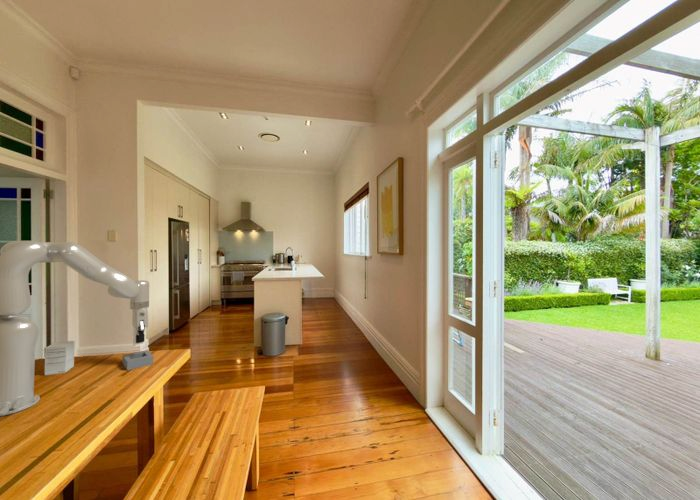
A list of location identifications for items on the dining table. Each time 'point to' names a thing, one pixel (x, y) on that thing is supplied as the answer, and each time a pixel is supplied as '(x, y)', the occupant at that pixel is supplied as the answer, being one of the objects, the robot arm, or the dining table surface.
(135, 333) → the peg
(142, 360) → the socket board
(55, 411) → the dining table surface
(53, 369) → the supplement box
